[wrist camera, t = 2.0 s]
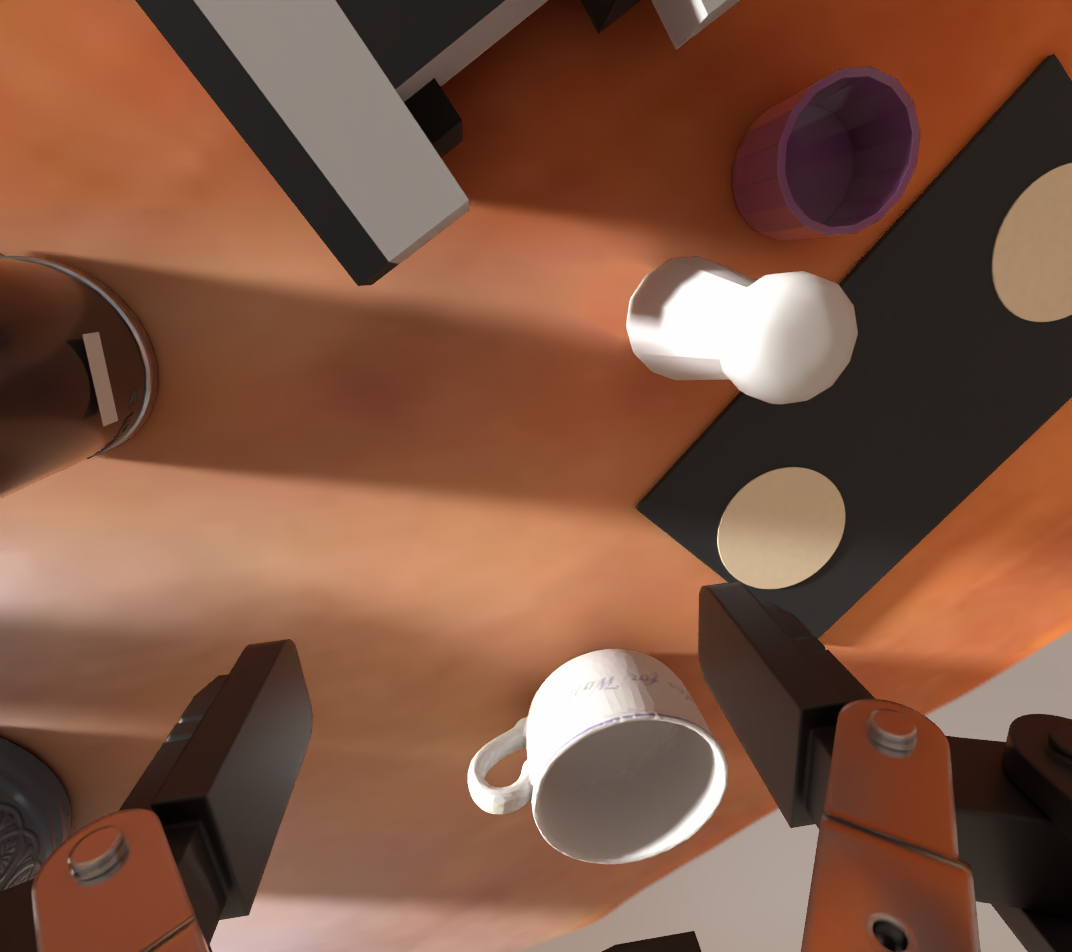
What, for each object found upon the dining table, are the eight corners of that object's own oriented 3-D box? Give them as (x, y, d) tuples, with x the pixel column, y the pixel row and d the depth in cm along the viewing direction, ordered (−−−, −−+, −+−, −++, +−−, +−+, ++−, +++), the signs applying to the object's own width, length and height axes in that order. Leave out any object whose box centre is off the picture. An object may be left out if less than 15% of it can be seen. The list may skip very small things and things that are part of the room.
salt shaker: (618, 377, 31) (715, 443, 19) (611, 265, 29) (714, 256, 17) (723, 364, 31) (885, 419, 19) (723, 252, 30) (902, 234, 17)
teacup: (698, 632, 37) (756, 723, 30) (658, 765, 40) (701, 877, 33) (482, 613, 35) (486, 705, 27) (459, 754, 38) (456, 872, 31)
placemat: (635, 507, 34) (637, 510, 33) (1047, 56, 28) (1056, 52, 28) (806, 643, 38) (810, 648, 38) (1188, 278, 33) (1198, 278, 32)
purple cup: (706, 179, 28) (747, 161, 24) (799, 67, 27) (860, 28, 23) (787, 267, 30) (839, 265, 26) (877, 165, 29) (947, 146, 25)
